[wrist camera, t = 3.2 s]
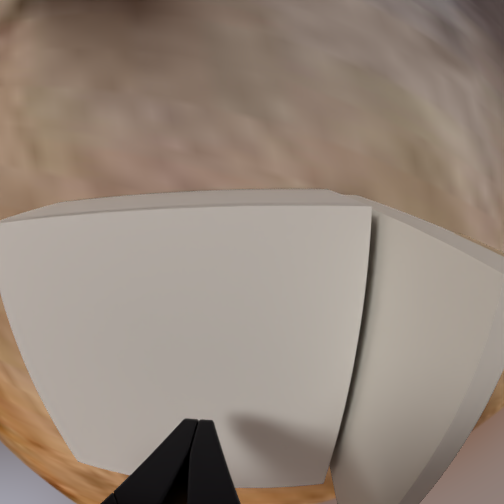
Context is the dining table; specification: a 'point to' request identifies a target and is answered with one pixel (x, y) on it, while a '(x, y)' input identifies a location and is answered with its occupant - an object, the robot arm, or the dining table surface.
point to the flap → (418, 358)
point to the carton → (192, 322)
